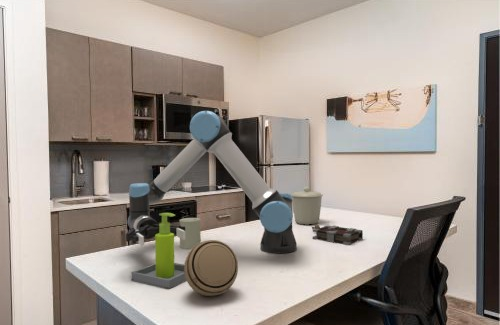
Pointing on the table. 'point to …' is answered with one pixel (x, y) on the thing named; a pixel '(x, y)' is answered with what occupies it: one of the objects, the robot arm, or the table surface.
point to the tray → (149, 277)
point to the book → (337, 234)
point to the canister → (306, 206)
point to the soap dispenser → (164, 248)
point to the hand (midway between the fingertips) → (164, 238)
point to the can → (190, 232)
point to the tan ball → (211, 268)
